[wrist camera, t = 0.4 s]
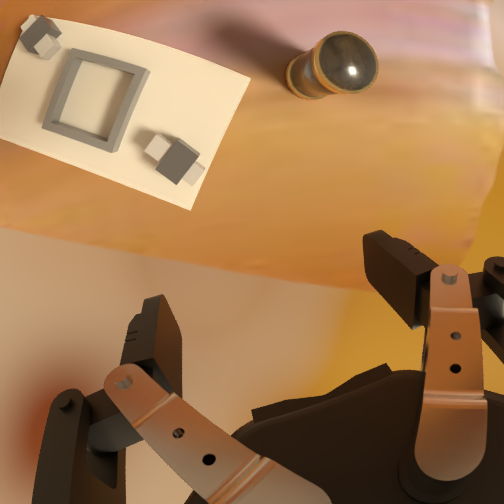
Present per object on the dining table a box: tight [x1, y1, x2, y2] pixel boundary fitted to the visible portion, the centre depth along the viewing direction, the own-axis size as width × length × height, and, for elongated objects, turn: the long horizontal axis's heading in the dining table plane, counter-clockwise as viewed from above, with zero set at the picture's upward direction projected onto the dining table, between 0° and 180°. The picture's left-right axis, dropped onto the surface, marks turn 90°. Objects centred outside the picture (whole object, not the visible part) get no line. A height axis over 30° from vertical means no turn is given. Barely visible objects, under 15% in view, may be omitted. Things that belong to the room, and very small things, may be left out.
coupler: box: [285, 31, 378, 100], centre depth 23 cm, size 5×5×10 cm
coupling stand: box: [0, 14, 251, 211], centre depth 25 cm, size 14×26×4 cm, turn 65°
